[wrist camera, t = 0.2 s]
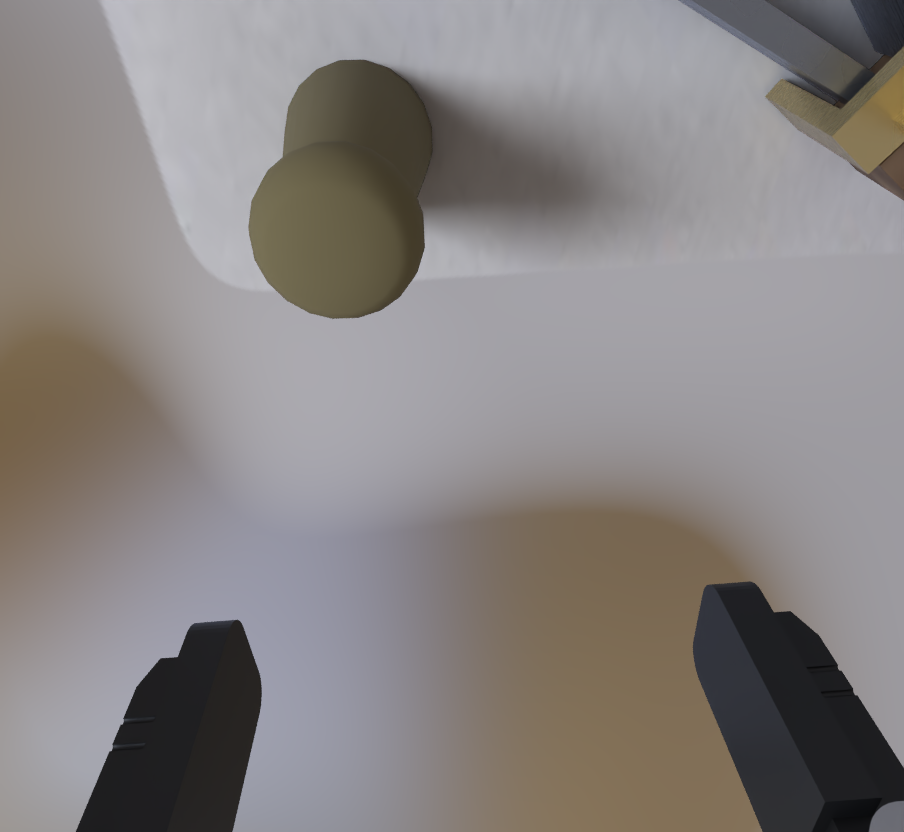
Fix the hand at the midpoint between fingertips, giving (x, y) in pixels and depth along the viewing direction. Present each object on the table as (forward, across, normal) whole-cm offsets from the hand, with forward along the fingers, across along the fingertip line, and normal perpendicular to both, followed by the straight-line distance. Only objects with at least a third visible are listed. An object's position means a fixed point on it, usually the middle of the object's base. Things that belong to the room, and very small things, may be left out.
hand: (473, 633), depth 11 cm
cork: (+21, +3, -5) cm, 22 cm away
